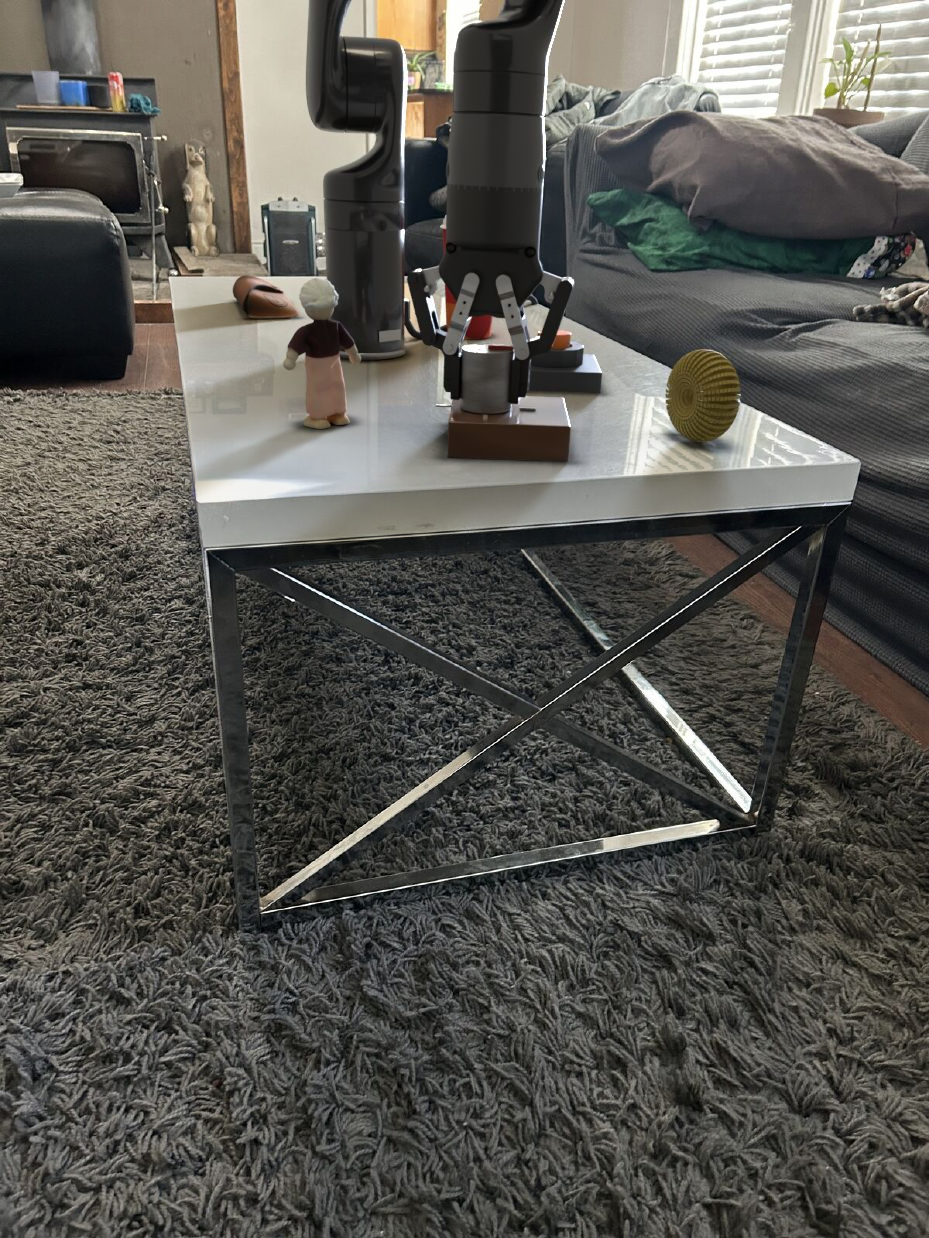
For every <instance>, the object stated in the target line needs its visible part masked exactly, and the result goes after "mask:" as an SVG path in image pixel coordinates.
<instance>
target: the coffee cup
mask: <svg viewBox="0 0 929 1238" xmlns="http://www.w3.org/2000/svg"><path fill="white" fill-rule="evenodd" d="M439 227H440V229H442V245H443V246H442V247H443V248H442V249H443V254H444V253H445V247H446V215H445V216H444V218H443V220H442V224H441V225H439ZM444 301H445V302H444V303H445V322H446V323H445V325H447V332H448V329H449V326H450V321H451V318H452V315H453V312H454V309H455V306H456V303H457V302H456V301H455V299H454V298H453V296H452V294H451V293H450V291H449V290H448V288H447V287H446V285H445V284H444ZM493 318H494V317H493V316H490V315H484V316H479V317H475V316H472V318H471V321H470V323H469V325H468V328H467V331H466V333H465V336H464V339H463V340H483V339H488V338H490V337H491V336H492V335H491V334H492V327H493ZM447 332H446V333H447Z"/></svg>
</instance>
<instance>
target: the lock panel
mask: <svg viewBox="0 0 929 1238" xmlns="http://www.w3.org/2000/svg"><path fill="white" fill-rule="evenodd" d="M460 400H461V398H460V399H459V400H452V401H451V404H449V403H444V404H443V403H436V404H435V407H436V408H450V411H449V416H448V420H447V421H448V422H447V425H448V426H447V458H459V459H484V460H485V459H487V460H511V461H512V460H513V461H537V462H539V461H540V462H541V461H542V462H569V456H570V455H569V454H570V443H571V429H572V427H571V422H570V419H569V414H568V411H567V405H566V402H565V398H564V397H561V396H559V397H558V396H557V397H556V396H531V395H526V396H525V398H521V399H520V402H519V404H512V405H511V410H509V411H507V412H504V413H497V414H481V413H473V412H469V411H465V410H463V409H462V408H461V407H460Z"/></svg>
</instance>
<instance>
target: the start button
mask: <svg viewBox="0 0 929 1238" xmlns="http://www.w3.org/2000/svg"><path fill="white" fill-rule="evenodd" d="M541 332H542V329H540V330H539V329H538V331H537V335H536V337H539V336H540V334H541ZM571 335H572V332H570V331H568V330H565V329H559V330H558V332H557V335H556V338H555V341H554V343H553V346H552V349H563V348H570V341H571V338H572V336H571Z"/></svg>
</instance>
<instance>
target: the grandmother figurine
mask: <svg viewBox="0 0 929 1238" xmlns="http://www.w3.org/2000/svg"><path fill="white" fill-rule="evenodd" d="M299 292H300V293H299V294H298V296H299V297H298V299H299V301H300V305H301V306H302V308H303V309H304V313H305V314H306V316H307V317H308V318H309V319H310V320H313V321H312V322H310V323H307V324H305V325H302V326H300V327H299V328H297V330H296V331H295V332H294V334H293V335H292V337H291V338H290V341H288V344H287V351H286V354H285V359H284V360H283V363H282V366H283V368H284V369H285V370H287V371H293V370H294V369H295V368H296V362H297V361H298V359H299V357H300V356H302V355H303V354H304V368H305V377H306V381H305V382H306V383H305V412H306V414H308V415H307V416H306V417H305V419H304V420H303V422H302V423H303V426H305V427H308V428H312V429H315V430H316V429H317V430H324V429H329V428H331V424H333V425H336V426H342V425H349V424H350V423H351V421H350V419H349V417H348V415H347V412H348V407H347V406H348V405H347V392H346V385H345V384H346V383H345V379H344V373H343V368H342V362H341V357H340V355H339V346H340V347H342V348H344V349H345V351H346V353H347V355H348V356H349V357H350V359H349V361H350V363H351V364H353V365H358V364H360V363H361V361H362V360H361V357H360V355H359V354H358V353H357V348H356V346H355V343H354V340H353V339H352V337H351V336H350V334H349V333H348V332H347V331H346V329H345V328H344V327H343V326H342V324H341V323H340V322H338V321H333V320H328V319H329V318H330V317H331V315H332V313H333V310H334V307H335V306H336V305H338V303H337V299H338V294H337V292H336V291H335V290H334V286H333V285H332V284H331V283H330V282H329V281H328V280H327V278H322V277H314V278H311V279H309V280H308V281H307V282H305V283H303V284H302V286H301V288H300V291H299Z"/></svg>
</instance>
